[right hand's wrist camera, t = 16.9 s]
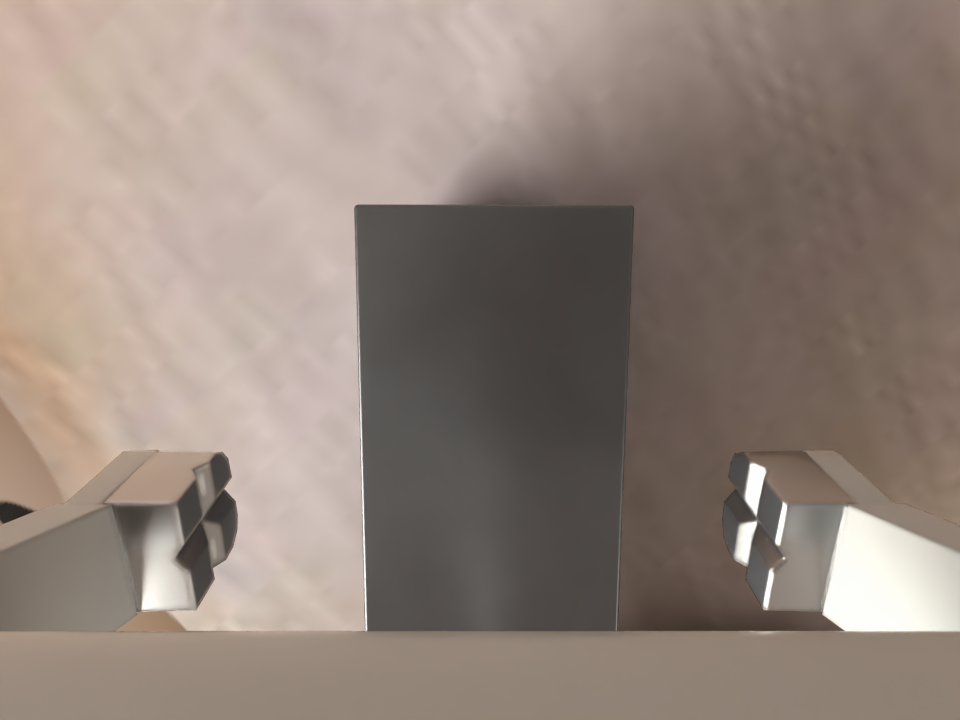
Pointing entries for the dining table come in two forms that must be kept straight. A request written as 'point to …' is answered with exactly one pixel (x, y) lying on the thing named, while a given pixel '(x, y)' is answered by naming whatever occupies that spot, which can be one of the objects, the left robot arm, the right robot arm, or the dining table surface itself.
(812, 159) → the dining table surface
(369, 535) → the box
